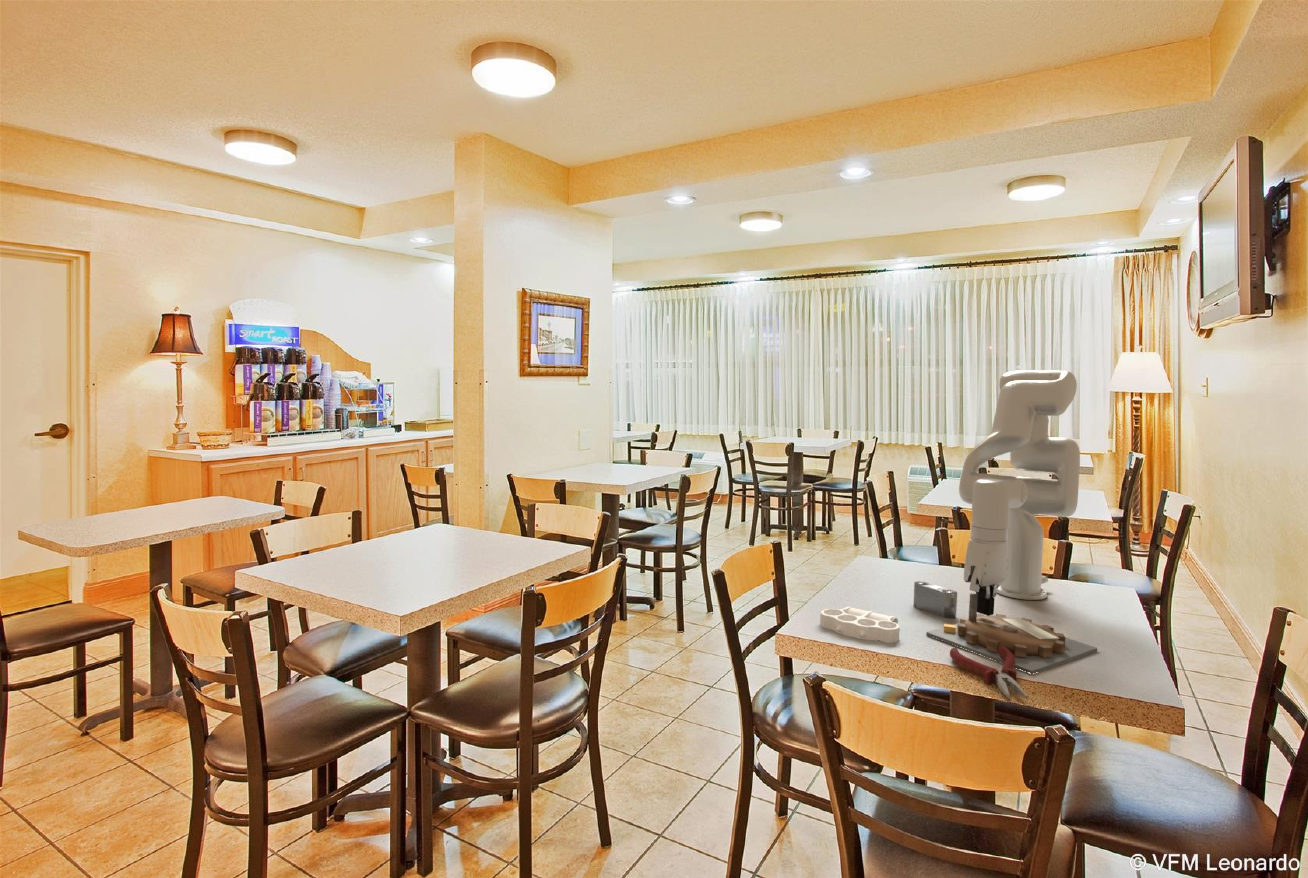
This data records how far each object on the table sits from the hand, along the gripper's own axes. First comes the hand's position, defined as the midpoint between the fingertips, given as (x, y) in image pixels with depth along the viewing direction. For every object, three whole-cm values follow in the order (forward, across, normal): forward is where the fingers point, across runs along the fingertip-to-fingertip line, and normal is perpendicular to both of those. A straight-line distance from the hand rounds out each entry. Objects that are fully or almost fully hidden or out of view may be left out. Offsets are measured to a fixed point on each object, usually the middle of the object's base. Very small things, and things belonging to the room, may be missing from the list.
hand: (984, 613), depth 157 cm
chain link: (+4, -2, -15) cm, 15 cm away
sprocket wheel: (+4, +2, +7) cm, 9 cm away
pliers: (+4, +23, +15) cm, 28 cm away
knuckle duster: (+5, +24, -15) cm, 28 cm away
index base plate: (+4, +2, +7) cm, 9 cm away
